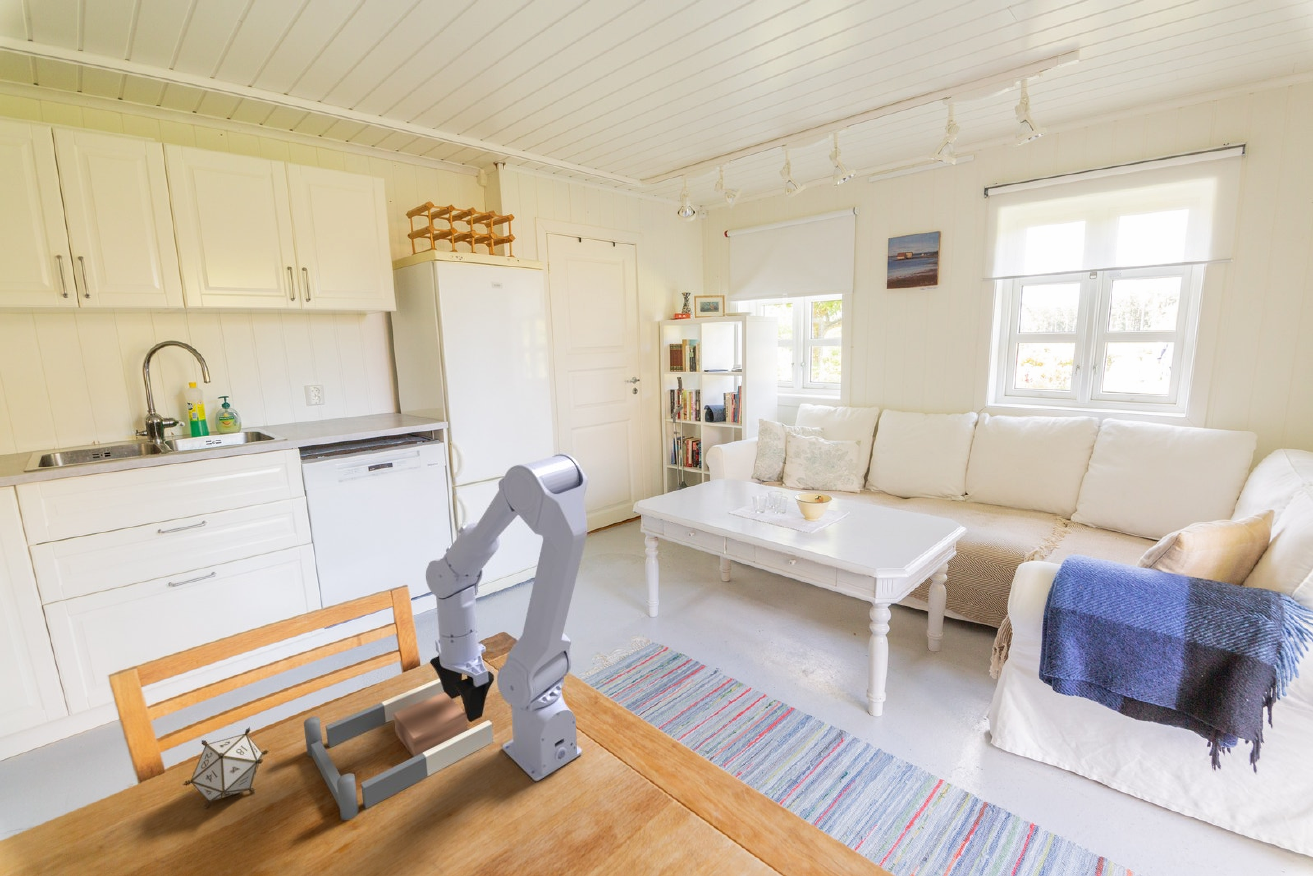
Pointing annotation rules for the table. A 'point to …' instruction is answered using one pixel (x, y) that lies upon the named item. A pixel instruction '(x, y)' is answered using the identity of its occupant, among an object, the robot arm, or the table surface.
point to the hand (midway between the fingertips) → (464, 707)
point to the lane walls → (450, 748)
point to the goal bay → (345, 784)
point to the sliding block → (429, 723)
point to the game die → (227, 767)
